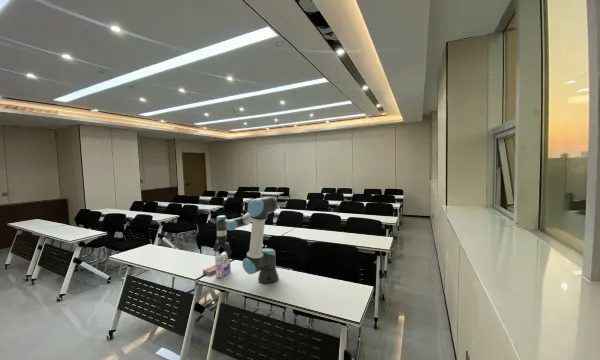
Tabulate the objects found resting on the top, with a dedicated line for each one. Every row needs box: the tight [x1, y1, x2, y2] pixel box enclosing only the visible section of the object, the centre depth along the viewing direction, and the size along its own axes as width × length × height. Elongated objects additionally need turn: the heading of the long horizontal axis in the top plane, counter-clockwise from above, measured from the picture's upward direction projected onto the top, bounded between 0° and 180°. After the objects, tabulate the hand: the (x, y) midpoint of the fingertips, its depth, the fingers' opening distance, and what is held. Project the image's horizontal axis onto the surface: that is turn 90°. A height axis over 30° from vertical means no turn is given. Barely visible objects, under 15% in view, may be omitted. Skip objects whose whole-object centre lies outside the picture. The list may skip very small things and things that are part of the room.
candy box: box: [215, 251, 231, 279], centre depth 201 cm, size 14×6×16 cm, turn 168°
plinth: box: [202, 264, 216, 277], centre depth 208 cm, size 9×15×3 cm, turn 146°
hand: (222, 261), depth 201 cm, fingers open, 13 cm apart
